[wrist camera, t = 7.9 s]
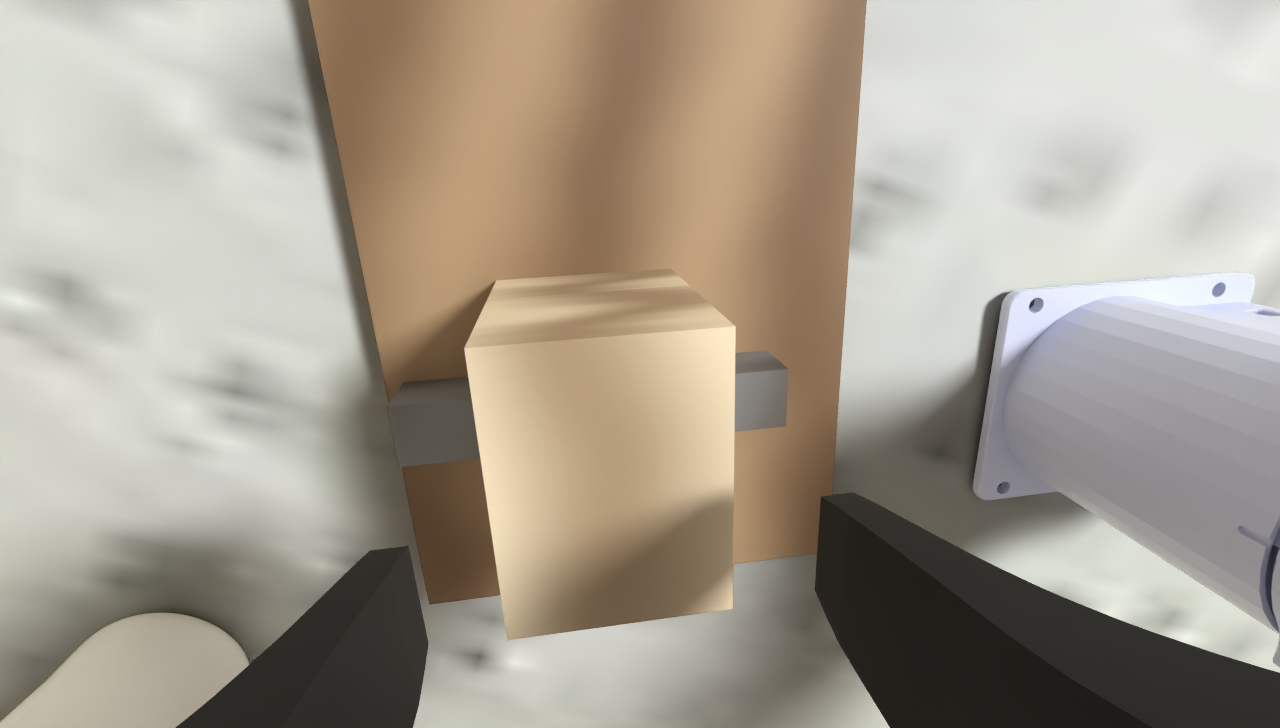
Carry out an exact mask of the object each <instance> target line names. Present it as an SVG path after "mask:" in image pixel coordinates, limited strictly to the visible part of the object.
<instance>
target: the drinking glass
mask: <svg viewBox="0 0 1280 728" xmlns="http://www.w3.org/2000/svg"><path fill="white" fill-rule="evenodd" d="M248 665H249V661H248V659H247V657H246V655H245V653H244V651H243V650H242V648H241V647H240V645H239V644H238V643H237V642H236V641H235V640H234V639H233V638H232V637H231V636H230V635H229V634H227V633H226V632H225V631H223V630H222V629H220V628H219V627H217V626H215V625H213V624H211V623H209V622H207V621H204V620H201V619H199V618H195V617H192V616H188V615H183V614H176V613H146V614H140V615H135V616H131V617H127V618H124V619H121V620H119V621H116V622H114V623H112V624H109V625H108V626H106V627H104V628H102V629H101V630H99V631H98V632H96V633H95V634H93V635H92V636H91V637H89V638H88V639H87V640H86V641H85V642H84V643H82V644H81V645H80V646H79V647H78V648H77V649H76V650H75V651H74V652H73V653H72V654H71V655H70V656H69V657H68V658H67V659H66V660H65V662H64V663H63V664H62V665H61V666H60V667H59V668H58V669H57V670H56V671H55V672H54V673H53V674H52V675H51V676H50V677H49V678H48V679H47V680H46V681H45V682H44V683H43V684H42V685H41V686H39V687H38V688H37V689H36V690H35V691H34V692H33V693H32V694H31V695H29V696H28V697H27V698H26V699H25V700H24V701H23V702H22V703H21V704H19V705H18V706H17V707H16V708H15V709H14V710H13V711H12V712H11V713H9V714H8V715H7V716H6V717H5V718H4V719H3V720H2V721H0V728H176V727H177V726H178V725H179V724H180V723H182V722H183V721H184V720H185V719H187V718H188V717H189V716H190V715H192V714H193V713H194V712H195V711H197V710H198V709H199V708H200V707H201V706H203V705H204V704H205V703H206V702H207V701H209V700H210V699H211V698H212V697H213V696H214V695H216V694H217V693H218V692H219V691H220V690H221V689H222V688H223V687H225V686H226V685H227V684H228V683H229V682H230V681H231V680H233V679H234V678H235V677H236V676H237V675H238V674H239V673H240V672H242V671H243V670H244V669H245V668H246V667H247V666H248Z"/></svg>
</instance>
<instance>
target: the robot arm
mask: <svg viewBox="0 0 1280 728" xmlns="http://www.w3.org/2000/svg"><path fill="white" fill-rule="evenodd" d="M1254 288H1255V279H1254V276H1252V275H1251V274H1248V273H1241V272H1229V273H1217V274H1204V275H1192V276H1179V277H1167V278H1155V279H1142V280H1130V281H1117V282H1105V283H1093V284H1080V285H1068V286H1056V287H1043V288H1031V289H1018V290H1014V291H1012V292H1010V293H1009V294H1007V296H1006V297H1005V298H1004V300H1003V302H1002V306H1001V312H1000V318H999V324H998V331H997V337H996V343H995V350H994V356H993V362H992V368H991V375H990V381H989V387H988V393H987V400H986V406H985V412H984V419H983V425H982V431H981V437H980V444H979V450H978V456H977V463H976V469H975V475H974V481H973V491H974V493H975V494H976V495H977V496H978V497H980V498H981V499H983V500H995V499H1003V498H1011V497H1019V496H1027V495H1035V494H1043V493H1051V492H1060V493H1062V494H1063V495H1065V496H1067V497H1068V498H1070V499H1071V500H1073V501H1074V502H1076V503H1077V504H1079V505H1080V506H1082V507H1084V508H1085V509H1087V510H1088V511H1090V512H1091V513H1093V514H1094V515H1096V516H1097V517H1099V518H1100V519H1102V520H1104V521H1105V522H1107V523H1108V524H1110V525H1111V526H1113V527H1114V528H1116V529H1117V530H1119V531H1121V532H1122V533H1124V534H1125V535H1127V536H1128V537H1130V538H1131V539H1133V540H1134V541H1136V542H1138V543H1139V544H1141V545H1142V546H1144V547H1145V548H1147V549H1148V550H1150V551H1151V552H1153V553H1155V554H1156V555H1158V556H1159V557H1161V558H1162V559H1164V560H1165V561H1167V562H1168V563H1170V564H1171V565H1173V566H1175V567H1176V568H1178V569H1179V570H1181V571H1182V572H1184V573H1185V574H1187V575H1188V576H1190V577H1192V578H1193V579H1195V580H1196V581H1198V582H1199V583H1201V584H1202V585H1204V586H1205V587H1207V588H1209V589H1210V590H1212V591H1213V592H1215V593H1216V594H1218V595H1219V596H1221V597H1222V598H1224V599H1225V600H1227V601H1229V602H1230V603H1232V604H1233V605H1235V606H1236V607H1238V608H1239V609H1241V610H1242V611H1244V612H1246V613H1247V614H1249V615H1250V616H1252V617H1253V618H1255V619H1256V620H1258V621H1259V622H1261V623H1263V624H1264V625H1266V626H1267V627H1269V628H1270V629H1272V630H1273V631H1275V632H1276V633H1278V634H1279V642H1278V647H1277V649H1276V652H1275V654H1274V657H1273V663H1274V664H1276V665H1277V666H1279V667H1280V309H1279V308H1274V307H1269V306H1264V305H1259V304H1254V303H1250V301H1251V298H1252V295H1253V292H1254ZM1033 299H1034V301H1035V302H1034V305H1033V306H1032V307H1031V308H1030V309H1029V305H1030V302H1031V301H1032V300H1033ZM1001 483H1002V484H1001ZM1000 484H1001V486H999V487H998V485H1000ZM815 591H816V593H817V596H818V598H819V600H820V603H821V605H822V607H823V610H824V612H825V614H826V617H827V619H828V621H829V623H830V625H831V627H832V630H833V632H834V634H835V636H836V638H837V640H838V642H839V644H840V646H841V647H842V649H843V651H844V653H845V654H846V656H847V658H848V659H849V661H850V663H851V664H852V666H853V668H854V669H855V671H856V673H857V674H858V676H859V678H860V679H861V681H862V683H863V684H864V686H865V687H866V689H867V691H868V692H869V694H870V696H871V697H872V699H873V701H874V702H875V704H876V705H877V707H878V709H879V710H880V712H881V714H882V715H883V717H884V718H885V720H886V722H887V723H888V725H889V727H890V728H1280V673H1278V672H1275V671H1271V670H1268V669H1264V668H1261V667H1258V666H1254V665H1251V664H1248V663H1245V662H1241V661H1238V660H1235V659H1232V658H1228V657H1225V656H1222V655H1219V654H1215V653H1212V652H1209V651H1206V650H1203V649H1200V648H1197V647H1195V646H1192V645H1189V644H1186V643H1183V642H1180V641H1177V640H1174V639H1171V638H1168V637H1165V636H1162V635H1159V634H1156V633H1153V632H1150V631H1148V630H1145V629H1142V628H1140V627H1137V626H1134V625H1131V624H1129V623H1126V622H1123V621H1121V620H1118V619H1115V618H1113V617H1110V616H1108V615H1105V614H1103V613H1100V612H1098V611H1095V610H1093V609H1091V608H1088V607H1086V606H1083V605H1081V604H1078V603H1076V602H1073V601H1071V600H1068V599H1066V598H1063V597H1061V596H1059V595H1056V594H1054V593H1052V592H1050V591H1047V590H1045V589H1043V588H1040V587H1038V586H1036V585H1034V584H1032V583H1030V582H1027V581H1025V580H1023V579H1021V578H1019V577H1017V576H1015V575H1013V574H1011V573H1008V572H1006V571H1004V570H1002V569H1000V568H998V567H996V566H994V565H992V564H990V563H988V562H986V561H984V560H982V559H980V558H978V557H976V556H974V555H972V554H970V553H968V552H966V551H964V550H962V549H960V548H958V547H956V546H954V545H952V544H950V543H949V542H947V541H945V540H943V539H941V538H939V537H937V536H935V535H934V534H932V533H930V532H928V531H926V530H924V529H922V528H921V527H919V526H917V525H915V524H913V523H911V522H909V521H908V520H906V519H904V518H902V517H900V516H898V515H896V514H895V513H893V512H891V511H889V510H887V509H885V508H883V507H881V506H880V505H878V504H876V503H874V502H872V501H870V500H868V499H866V498H864V497H861V496H859V495H857V494H855V493H846V494H838V495H829V496H821V501H820V517H819V532H818V548H817V564H816V580H815ZM427 649H428V639H427V634H426V630H425V625H424V620H423V615H422V610H421V605H420V601H419V596H418V591H417V586H416V581H415V577H414V572H413V567H412V562H411V557H410V552H409V548H408V546H404V547H396V548H388V549H379V550H371V551H369V552H368V553H367V554H366V555H365V556H364V557H363V558H361V559H360V560H359V561H358V562H357V563H356V564H355V565H354V566H353V567H352V568H351V569H350V570H349V571H348V572H347V573H346V574H345V575H344V576H343V577H342V578H341V579H340V580H339V581H338V582H337V583H336V584H335V585H334V586H333V587H332V588H331V589H330V590H329V591H327V592H326V593H325V594H324V595H323V596H322V597H321V598H320V599H319V600H318V601H317V602H316V603H315V604H314V605H313V606H312V607H311V608H310V609H309V610H308V611H307V612H306V613H305V614H304V615H303V616H302V617H301V618H300V619H298V620H297V621H296V622H295V623H294V624H293V625H292V626H291V627H290V628H289V629H288V630H287V631H286V632H285V633H284V634H283V635H282V636H281V637H280V638H279V639H278V640H276V641H275V642H274V643H273V644H272V645H271V646H270V647H269V648H268V649H266V650H265V651H264V652H263V653H262V654H261V655H260V656H258V657H257V658H256V659H255V660H254V661H253V662H252V663H251V664H249V665H248V666H247V667H246V668H245V669H244V670H243V671H242V672H240V673H239V674H238V675H237V676H236V677H235V678H234V679H233V680H231V681H230V682H229V683H228V684H227V685H226V686H225V687H223V688H222V689H221V690H220V691H219V692H218V693H217V694H216V695H214V696H213V697H212V698H211V699H210V700H209V701H207V702H206V703H205V704H204V705H203V706H201V707H200V708H199V709H198V710H197V711H195V712H194V713H193V714H192V715H190V716H189V717H188V718H187V719H185V720H184V721H183V722H182V723H180V724H179V725H178V726H177V727H176V728H413V724H414V721H415V717H416V713H417V710H418V706H419V700H420V694H421V689H422V683H423V677H424V670H425V663H426V656H427Z"/></svg>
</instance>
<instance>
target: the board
mask: <svg viewBox="0 0 1280 728" xmlns="http://www.w3.org/2000/svg"><path fill="white" fill-rule="evenodd" d="M866 2H867V0H308V3H309V8H310V13H311V18H312V23H313V28H314V33H315V38H316V43H317V48H318V53H319V58H320V63H321V68H322V73H323V78H324V82H325V87H326V92H327V97H328V102H329V107H330V112H331V117H332V122H333V127H334V132H335V137H336V142H337V147H338V152H339V157H340V162H341V167H342V172H343V177H344V182H345V187H346V192H347V197H348V202H349V207H350V212H351V217H352V222H353V227H354V232H355V237H356V242H357V247H358V252H359V257H360V262H361V267H362V272H363V277H364V281H365V286H366V291H367V296H368V301H369V306H370V311H371V316H372V321H373V326H374V331H375V336H376V341H377V346H378V351H379V356H380V361H381V366H382V371H383V376H384V381H385V386H386V391H387V396H388V401H389V404H388V405H387V410H388V415H389V420H390V425H391V430H392V435H393V440H394V445H395V450H396V455H397V459H398V464H399V467H402V471H403V476H404V481H405V485H406V490H407V495H408V500H409V505H410V510H411V515H412V520H413V525H414V530H415V535H416V540H417V545H418V550H419V555H420V560H421V565H422V570H423V575H424V580H425V585H426V590H427V595H428V600H429V604H437V603H444V602H452V601H459V600H467V599H474V598H482V597H490V596H497V595H500V588H499V581H498V575H497V568H496V561H495V554H494V547H493V541H492V534H491V527H490V520H489V513H488V507H487V500H486V493H485V486H484V480H483V473H482V466H481V459H480V452H479V446H478V439H477V432H476V425H475V418H474V412H473V405H472V398H471V391H470V385H469V378H468V371H467V364H466V357H465V351H464V348H465V345H466V343H467V341H468V339H469V337H470V335H471V333H472V331H473V329H474V326H475V324H476V322H477V320H478V318H479V316H480V314H481V312H482V310H483V307H484V305H485V303H486V301H487V299H488V297H489V295H490V293H491V291H492V289H493V286H494V284H495V282H496V280H510V279H525V278H539V277H554V276H569V275H584V274H598V273H613V272H628V271H643V270H657V269H672V270H673V271H674V272H675V273H676V274H677V275H678V276H680V277H681V278H682V279H683V280H684V281H685V282H686V283H687V284H689V285H690V286H691V287H692V288H693V289H694V290H695V291H696V292H698V293H699V294H700V295H701V296H702V297H703V298H704V299H705V300H707V301H708V302H709V303H710V304H711V305H712V306H713V307H714V308H716V309H717V310H718V311H719V312H720V313H721V314H722V315H723V316H725V317H726V318H727V319H728V320H729V321H730V322H731V323H732V324H734V325H735V326H736V339H735V431H734V523H733V564H739V563H746V562H754V561H762V560H769V559H777V558H784V557H792V556H799V555H807V554H814V553H817V548H818V532H819V517H820V501H821V496H829V495H832V486H833V472H834V458H835V444H836V429H837V415H838V401H839V387H840V372H841V358H842V344H843V330H844V315H845V301H846V287H847V273H848V258H849V244H850V230H851V216H852V201H853V187H854V173H855V159H856V144H857V130H858V116H859V102H860V87H861V73H862V59H863V45H864V30H865V16H866Z"/></svg>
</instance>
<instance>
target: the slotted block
mask: <svg viewBox="0 0 1280 728" xmlns="http://www.w3.org/2000/svg"><path fill="white" fill-rule="evenodd" d="M735 339H736V326H735V325H734V324H732V323H731V322H730V321H729V320H728V319H727V318H726V317H725V316H723V315H722V314H721V313H720V312H719V311H718V310H717V309H716V308H714V307H713V306H712V305H711V304H710V303H709V302H708V301H707V300H705V299H704V298H703V297H702V296H701V295H700V294H699V293H698V292H696V291H695V290H694V289H693V288H692V287H691V286H690V285H689V284H687V283H686V282H685V281H684V280H683V279H682V278H681V277H680V276H678V275H677V274H676V273H675V272H674V271H673V270H672V269H657V270H643V271H628V272H613V273H598V274H584V275H569V276H554V277H539V278H525V279H510V280H496V282H495V284H494V286H493V289H492V291H491V293H490V295H489V297H488V299H487V301H486V303H485V305H484V307H483V310H482V312H481V314H480V316H479V318H478V320H477V322H476V324H475V326H474V329H473V331H472V333H471V335H470V337H469V339H468V341H467V343H466V345H465V348H464V351H465V357H466V364H467V371H468V378H469V385H470V391H471V398H472V405H473V412H474V418H475V425H476V432H477V439H478V446H479V452H480V459H481V466H482V473H483V480H484V486H485V493H486V500H487V507H488V513H489V520H490V527H491V534H492V541H493V547H494V554H495V561H496V568H497V575H498V581H499V588H500V595H501V602H502V609H503V615H504V622H505V629H506V636H507V640H512V639H519V638H527V637H534V636H541V635H548V634H555V633H563V632H570V631H577V630H584V629H591V628H599V627H606V626H613V625H620V624H627V623H635V622H642V621H649V620H656V619H663V618H671V617H678V616H685V615H692V614H699V613H707V612H714V611H721V610H728V609H733V523H734V431H735Z"/></svg>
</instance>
